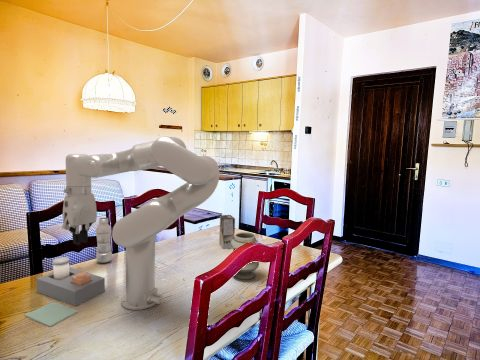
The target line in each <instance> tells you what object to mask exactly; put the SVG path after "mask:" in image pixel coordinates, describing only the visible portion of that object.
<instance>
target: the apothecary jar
mask: <svg viewBox="0 0 480 360" xmlns="http://www.w3.org/2000/svg"><path fill="white" fill-rule="evenodd" d="M248 242H259V241H258V239H256V234H254V233H253V232H248V231H243V232H242V231H240V232H237V233H235V234H234V239H233V240H232V241H231V247H232V248H231V249H233V251H234V250H235V249H237V248H238V247H240V246H242V245H243V244H245V243H248ZM259 266H260V262H252V263H249V264H247V265H246V266H245V267H244V268H242V269H241V270H240V271H239V272H238V273H237V274H236V275H235V276H234V277H233V279H234V280H236V281H238V282H239V281H240V282H250V281H253V280H255V279H256V277H257V276H256V273H254V271H256V270H257V269H258V268H259Z"/></svg>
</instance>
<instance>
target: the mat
mask: <svg viewBox="0 0 480 360" xmlns="http://www.w3.org/2000/svg"><path fill="white" fill-rule="evenodd" d="M78 313H79V312H78V310H76V309H74V308H71V307H69V306H65V305H62V304H60V303H57V302H55V301H52V302H50V303H47V304H46V305H43V306H41V307H38V308H36V309H35V310H31V312H27V313H26V314H24V316H25V317H26V318H29V320H30V319H31V320H33V321H35V322H37V323H39V324H42V325H45V327H46V326H47V327H48V328H52V327H54V326H55V325H57V324H59V323H61V322H63V321H65V320H66V319H68V318H71V316H73V315H75V314H78Z"/></svg>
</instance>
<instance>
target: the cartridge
mask: <svg viewBox="0 0 480 360" xmlns="http://www.w3.org/2000/svg"><path fill="white" fill-rule="evenodd" d="M69 267H70V257H68V256H59V257H56V258H54V259H53V260H52V269H53V272H54V279H56V280H62V279H64V278H67V277H69Z"/></svg>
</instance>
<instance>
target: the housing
mask: <svg viewBox="0 0 480 360" xmlns="http://www.w3.org/2000/svg"><path fill="white" fill-rule="evenodd" d="M82 272H85V273H87V274H88V275H91V281H90V282H88V283H86V284H84V285H81V286H78V285H75V284H72V277H73V276H75V275H76V274H78V273H82ZM35 280H36V282H35V283H36V292H37V293H39V294H42V295H45V296H47V297H50V298H52V299H55V300H57V301H60V302H63V303H66V304H68V305H70V306H74V307H77V306H79V305H80V304H82V303H84V302H86V301H88V300H90V299H92V298H94V297H96V296H98V295H100V294H102V293H104V292H105V291H106V290H105V288H106V285H105V284H106V281H105V280H106V278H105V277H103V276H100V275H96V274H93V273H89V272H86V271H84V270H83V271H82V270H80V269H76V268H73V267H70V266H69V277H67V278H64V279H62V280H56V279H54V272H49V273H46V274H44V275H42V276H38V277H37V278H35Z"/></svg>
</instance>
